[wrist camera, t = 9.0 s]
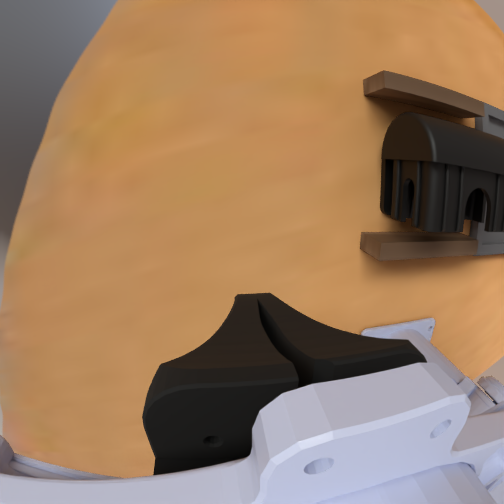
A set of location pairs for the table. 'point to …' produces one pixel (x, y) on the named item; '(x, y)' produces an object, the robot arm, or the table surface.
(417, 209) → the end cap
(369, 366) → the robot arm
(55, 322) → the table surface
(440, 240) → the channel walls
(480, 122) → the tray
